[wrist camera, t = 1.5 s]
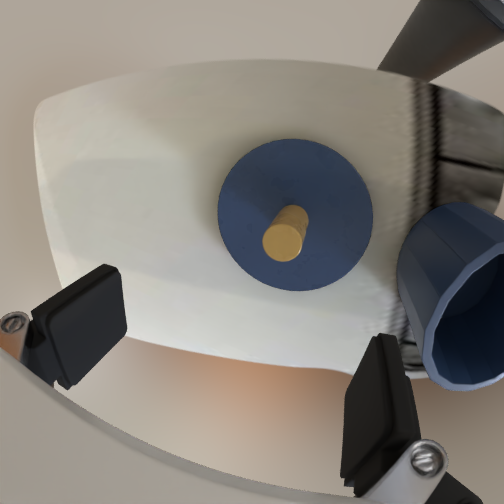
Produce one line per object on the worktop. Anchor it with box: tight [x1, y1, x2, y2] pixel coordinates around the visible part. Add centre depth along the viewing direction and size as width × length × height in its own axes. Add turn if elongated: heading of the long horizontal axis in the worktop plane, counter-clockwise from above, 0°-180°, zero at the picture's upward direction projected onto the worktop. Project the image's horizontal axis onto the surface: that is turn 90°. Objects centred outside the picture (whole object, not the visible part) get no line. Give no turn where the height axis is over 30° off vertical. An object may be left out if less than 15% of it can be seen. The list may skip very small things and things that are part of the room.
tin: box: [397, 202, 504, 391], centre depth 16 cm, size 11×11×10 cm
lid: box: [218, 139, 373, 291], centre depth 20 cm, size 12×12×7 cm
